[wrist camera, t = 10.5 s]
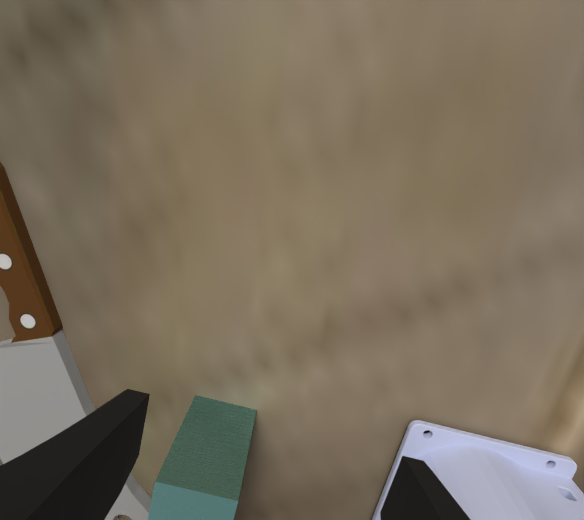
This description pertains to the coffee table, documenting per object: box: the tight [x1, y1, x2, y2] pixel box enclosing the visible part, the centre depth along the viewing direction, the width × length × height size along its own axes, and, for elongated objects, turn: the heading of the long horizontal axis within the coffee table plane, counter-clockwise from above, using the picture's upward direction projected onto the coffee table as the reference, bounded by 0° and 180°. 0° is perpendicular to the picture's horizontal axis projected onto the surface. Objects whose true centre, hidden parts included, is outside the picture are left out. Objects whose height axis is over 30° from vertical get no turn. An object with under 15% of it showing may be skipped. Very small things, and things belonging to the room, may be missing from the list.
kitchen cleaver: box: [0, 163, 152, 520], centre depth 22 cm, size 24×1×10 cm
